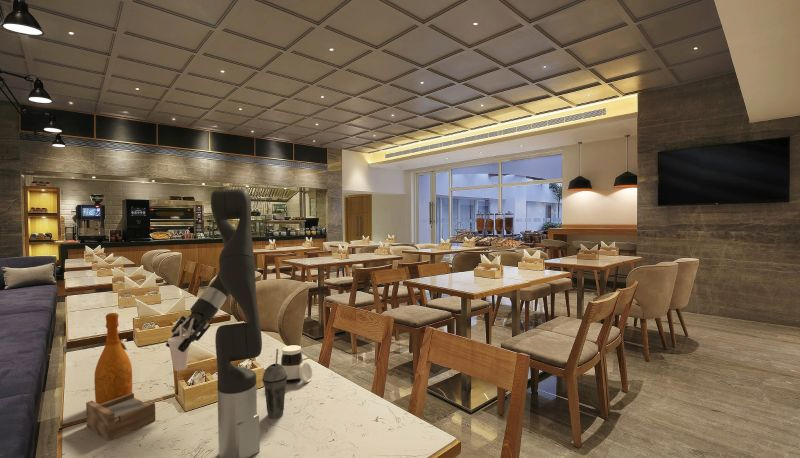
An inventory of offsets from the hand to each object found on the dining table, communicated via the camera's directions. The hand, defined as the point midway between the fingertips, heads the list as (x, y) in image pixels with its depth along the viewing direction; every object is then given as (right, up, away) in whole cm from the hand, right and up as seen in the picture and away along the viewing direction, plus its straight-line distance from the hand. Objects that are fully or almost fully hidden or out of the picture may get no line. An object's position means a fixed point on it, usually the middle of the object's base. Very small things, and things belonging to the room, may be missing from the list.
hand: (174, 348), depth 121 cm
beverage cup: (+32, -20, -2) cm, 38 cm away
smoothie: (+1, -7, +2) cm, 7 cm away
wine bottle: (-22, -20, +5) cm, 30 cm away
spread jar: (+32, -19, +24) cm, 44 cm away
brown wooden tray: (-12, -20, -7) cm, 24 cm away
